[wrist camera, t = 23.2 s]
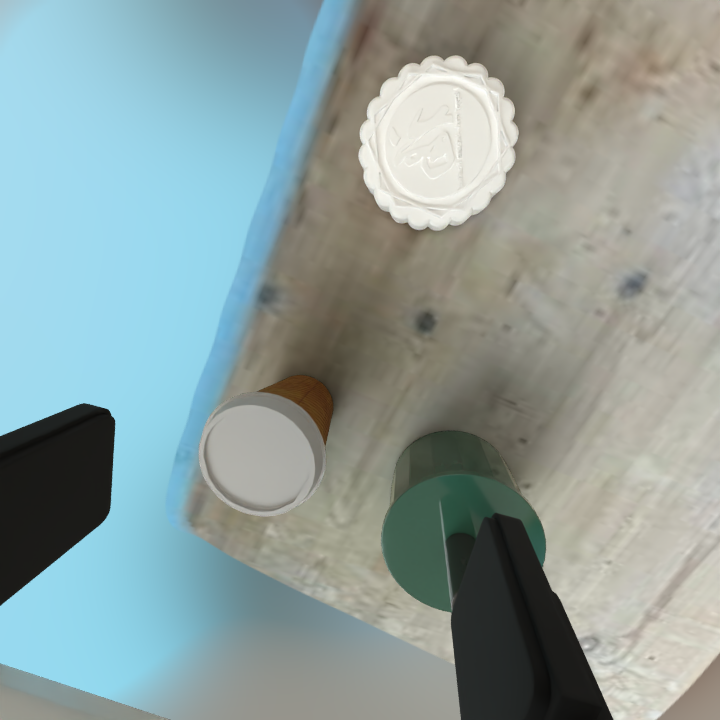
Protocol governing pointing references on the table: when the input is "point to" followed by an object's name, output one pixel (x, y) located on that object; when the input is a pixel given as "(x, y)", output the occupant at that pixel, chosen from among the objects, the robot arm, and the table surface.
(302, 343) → the table surface
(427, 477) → the crock lid
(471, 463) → the crock
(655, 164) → the table surface
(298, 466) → the disposable coffee cup
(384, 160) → the mooncake
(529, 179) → the table surface
